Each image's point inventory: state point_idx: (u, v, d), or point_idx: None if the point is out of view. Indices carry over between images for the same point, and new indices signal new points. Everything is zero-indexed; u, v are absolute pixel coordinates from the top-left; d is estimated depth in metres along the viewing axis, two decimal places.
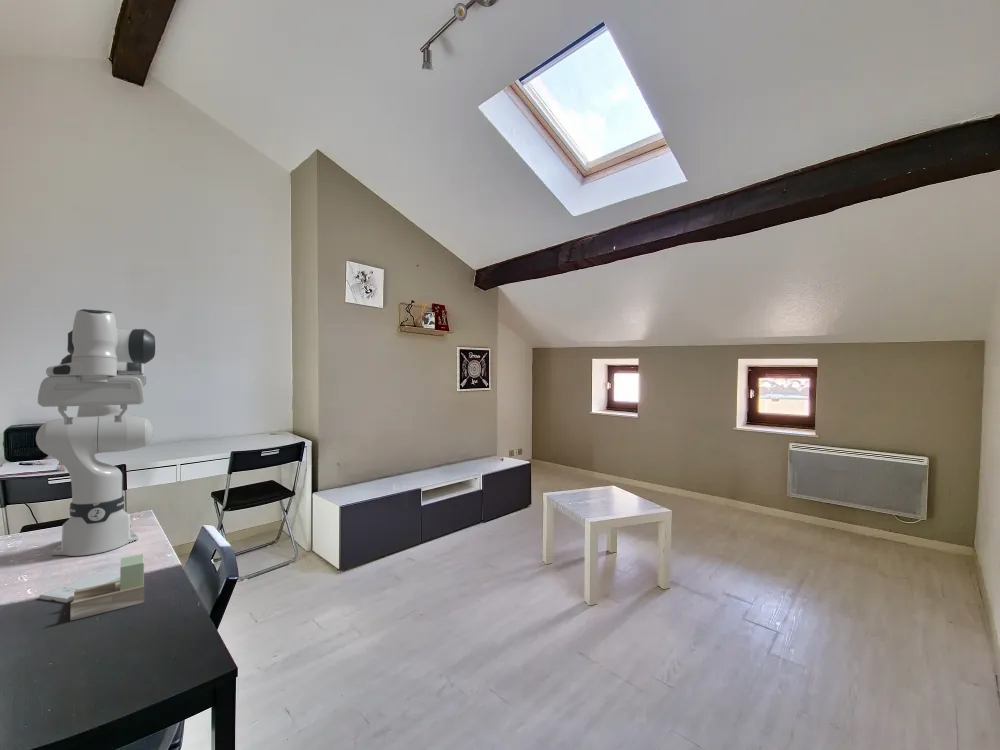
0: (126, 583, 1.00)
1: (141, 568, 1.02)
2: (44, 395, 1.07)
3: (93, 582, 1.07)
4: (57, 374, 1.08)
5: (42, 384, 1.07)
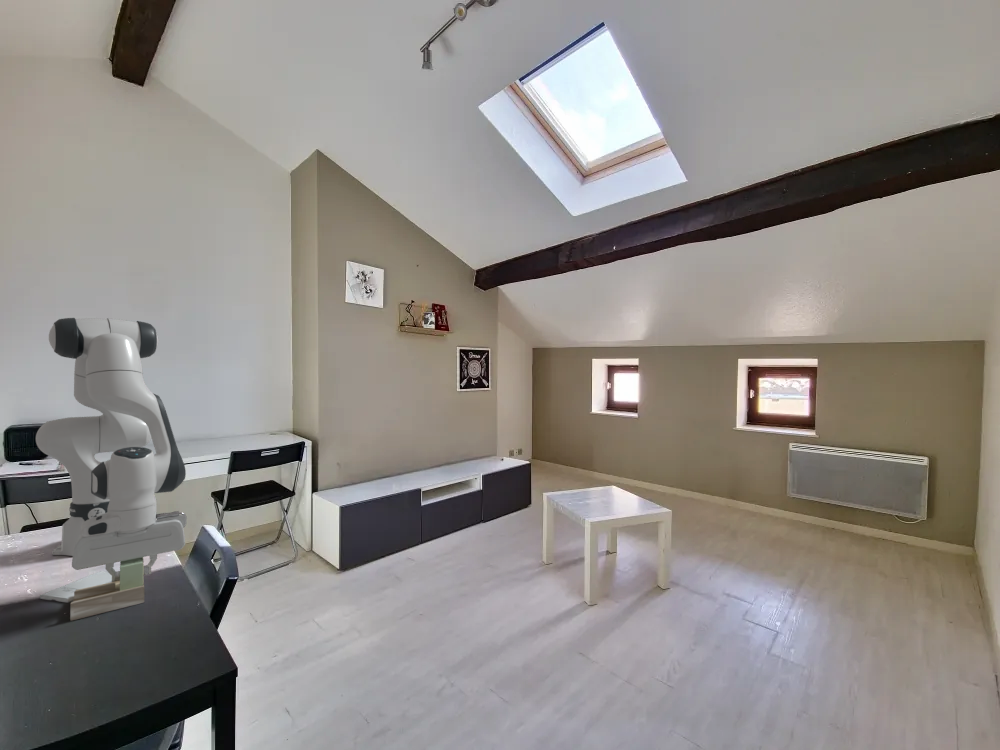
0: (126, 583, 1.00)
1: (141, 568, 1.02)
2: (79, 558, 0.96)
3: (93, 582, 1.07)
4: (93, 534, 0.97)
5: (76, 547, 0.95)
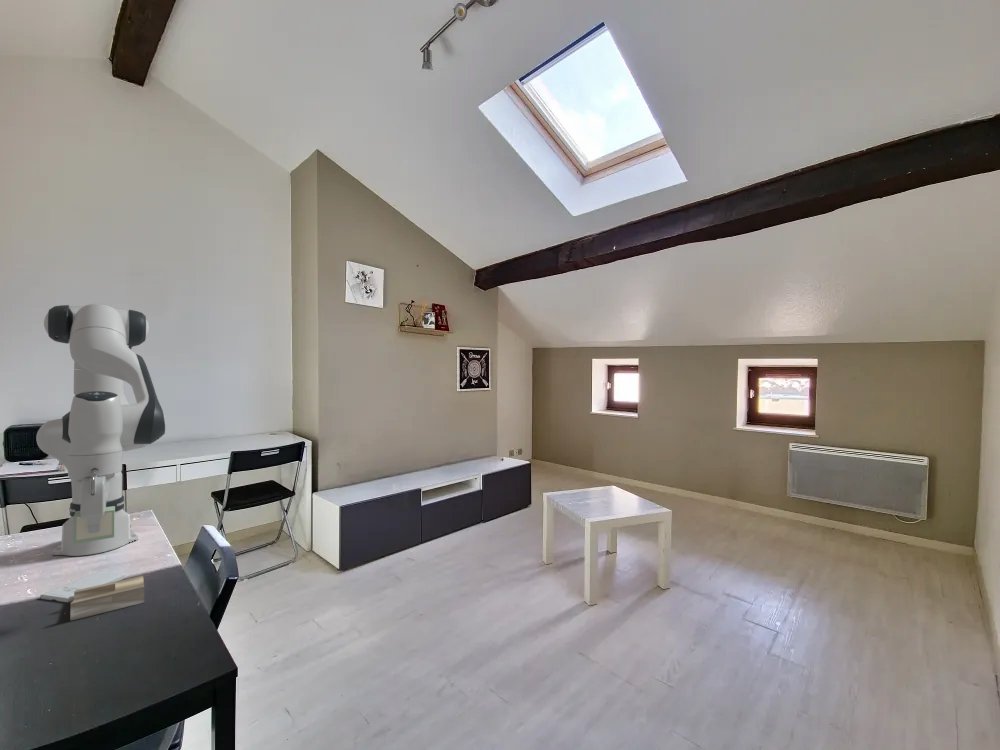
0: None
1: (74, 521, 0.94)
2: None
3: (94, 582, 1.07)
4: None
5: None
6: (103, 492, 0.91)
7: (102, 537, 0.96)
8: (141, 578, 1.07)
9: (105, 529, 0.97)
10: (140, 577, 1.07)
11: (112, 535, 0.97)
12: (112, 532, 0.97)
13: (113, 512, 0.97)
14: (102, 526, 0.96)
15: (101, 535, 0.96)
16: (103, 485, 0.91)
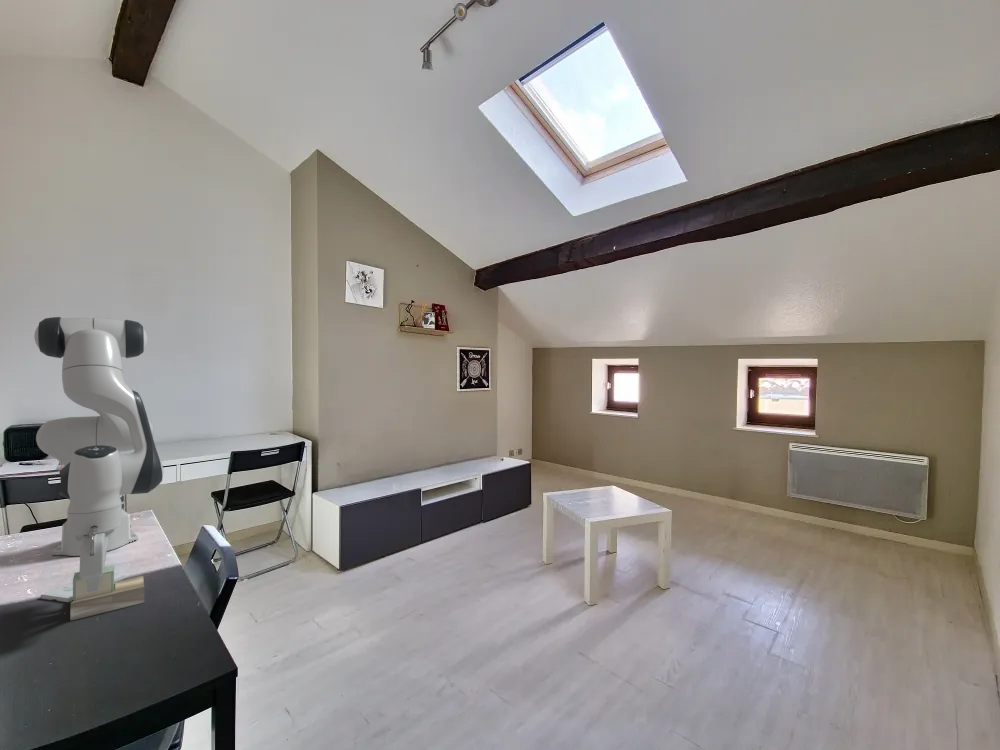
0: None
1: (73, 584, 0.94)
2: None
3: None
4: None
5: None
6: (102, 551, 0.91)
7: None
8: (141, 578, 1.07)
9: (104, 591, 0.97)
10: (140, 577, 1.07)
11: None
12: None
13: (112, 573, 0.97)
14: (101, 587, 0.96)
15: None
16: (102, 544, 0.91)
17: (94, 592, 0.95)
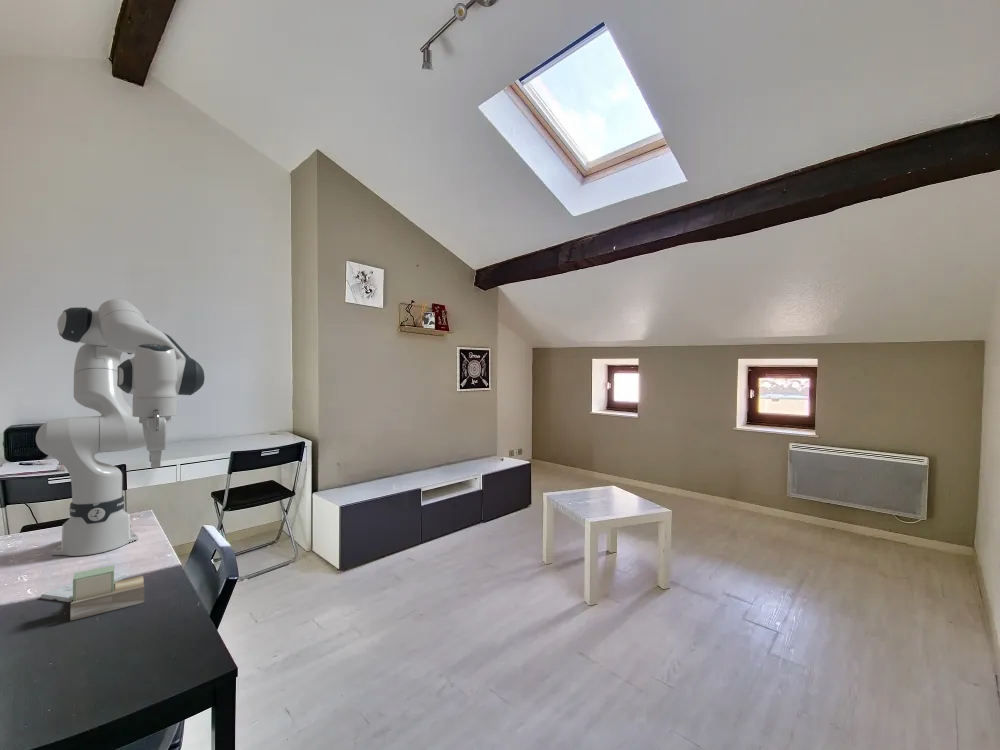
0: None
1: (73, 584, 0.94)
2: (144, 432, 1.16)
3: None
4: None
5: None
6: (165, 429, 1.04)
7: None
8: (141, 578, 1.07)
9: (104, 591, 0.97)
10: (140, 577, 1.07)
11: None
12: None
13: (112, 573, 0.97)
14: (101, 587, 0.96)
15: None
16: (165, 423, 1.04)
17: (94, 592, 0.95)
